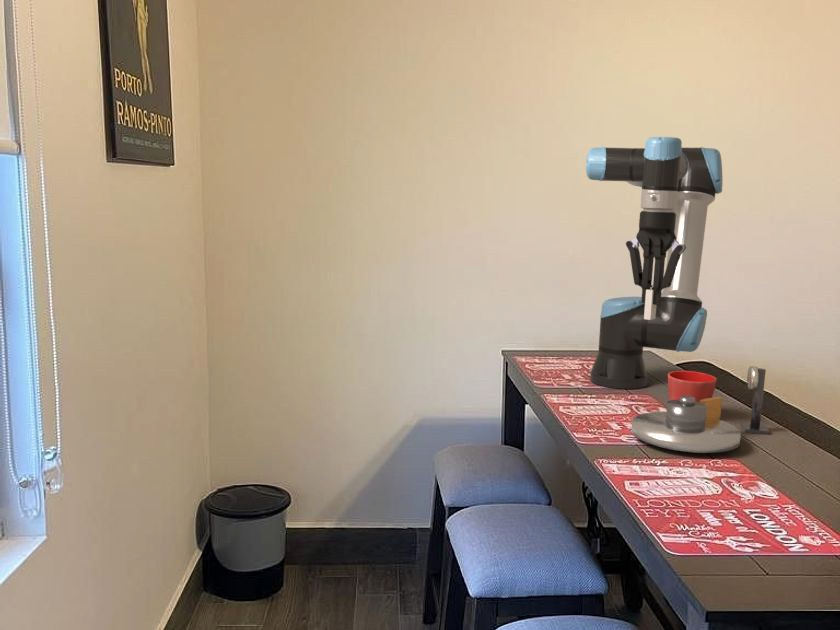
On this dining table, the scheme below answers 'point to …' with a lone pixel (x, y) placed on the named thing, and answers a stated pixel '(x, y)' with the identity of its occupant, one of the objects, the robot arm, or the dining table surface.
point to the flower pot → (691, 385)
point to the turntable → (710, 441)
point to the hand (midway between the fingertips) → (649, 318)
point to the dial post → (756, 401)
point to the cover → (686, 415)
